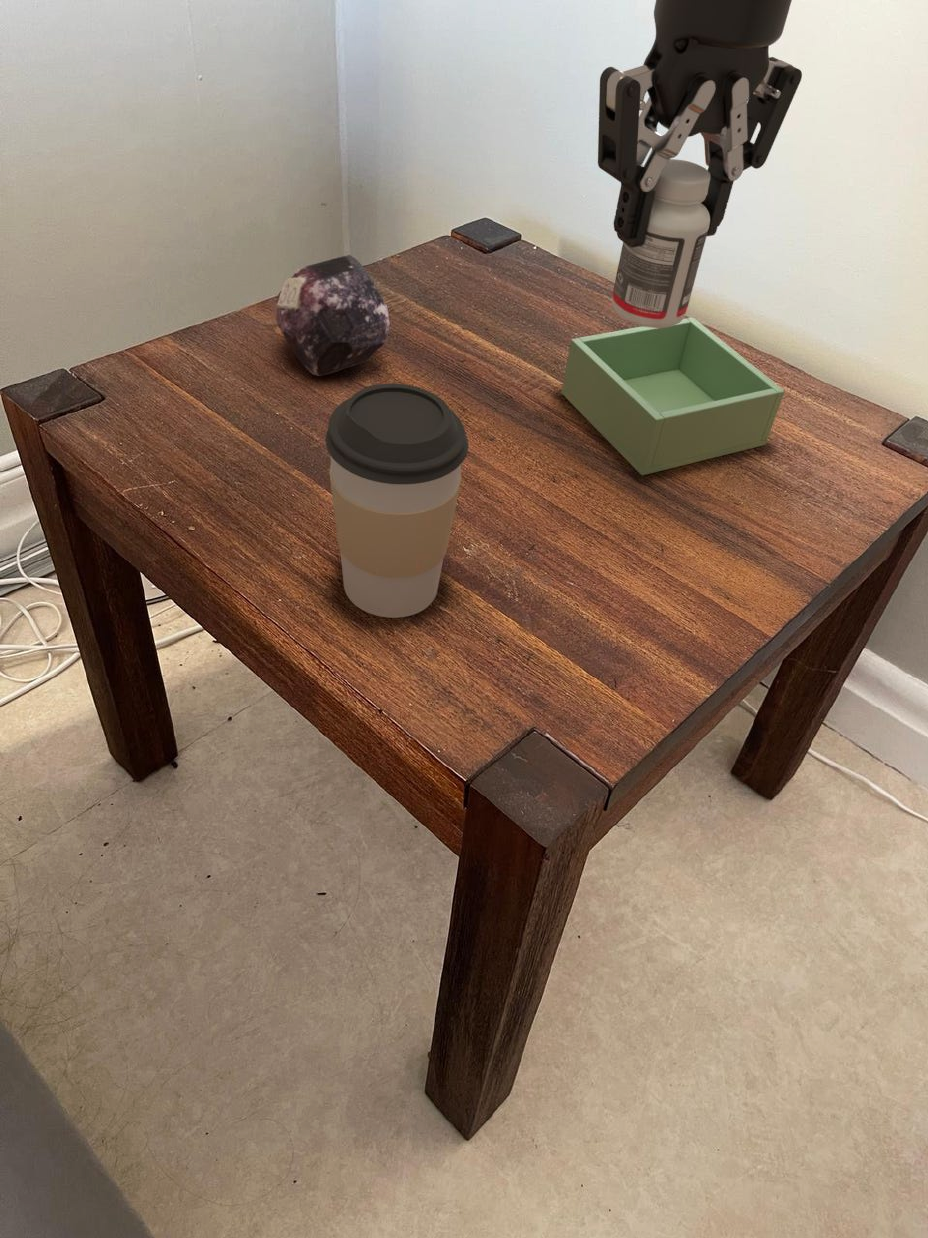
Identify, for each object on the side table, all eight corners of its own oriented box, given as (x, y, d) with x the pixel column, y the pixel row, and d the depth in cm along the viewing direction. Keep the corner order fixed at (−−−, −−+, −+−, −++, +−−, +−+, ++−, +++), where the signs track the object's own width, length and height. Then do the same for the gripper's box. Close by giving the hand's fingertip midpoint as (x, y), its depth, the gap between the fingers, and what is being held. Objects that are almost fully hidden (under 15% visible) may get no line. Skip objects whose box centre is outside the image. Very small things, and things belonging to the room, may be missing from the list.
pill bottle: (653, 288, 72) (686, 150, 65) (700, 322, 69) (740, 180, 62) (594, 300, 70) (622, 159, 63) (640, 336, 66) (675, 191, 60)
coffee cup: (403, 528, 75) (412, 354, 64) (478, 595, 70) (501, 419, 60) (303, 573, 70) (296, 393, 60) (377, 647, 66) (383, 467, 55)
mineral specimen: (276, 307, 94) (315, 217, 88) (372, 360, 96) (416, 277, 90) (246, 354, 87) (286, 260, 80) (350, 411, 89) (397, 324, 83)
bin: (678, 369, 96) (692, 316, 92) (765, 444, 88) (785, 390, 84) (561, 393, 91) (570, 338, 87) (641, 475, 83) (656, 419, 79)
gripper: (674, -48, 48) (608, 276, 60) (881, -50, 54) (783, 247, 66) (593, -82, 53) (546, 226, 65) (791, -80, 58) (714, 203, 70)
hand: (666, 235), depth 65 cm, fingers closed on pill bottle, 5 cm apart
